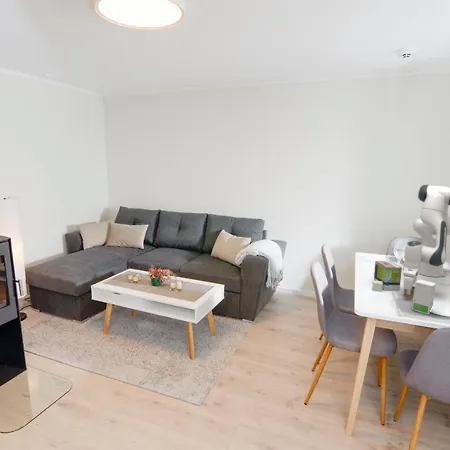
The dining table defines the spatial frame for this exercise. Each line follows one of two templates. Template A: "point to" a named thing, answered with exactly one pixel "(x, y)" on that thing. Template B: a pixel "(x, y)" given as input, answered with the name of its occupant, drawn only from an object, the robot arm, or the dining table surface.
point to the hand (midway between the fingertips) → (409, 292)
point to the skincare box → (423, 296)
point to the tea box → (388, 274)
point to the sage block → (377, 286)
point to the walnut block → (411, 292)
